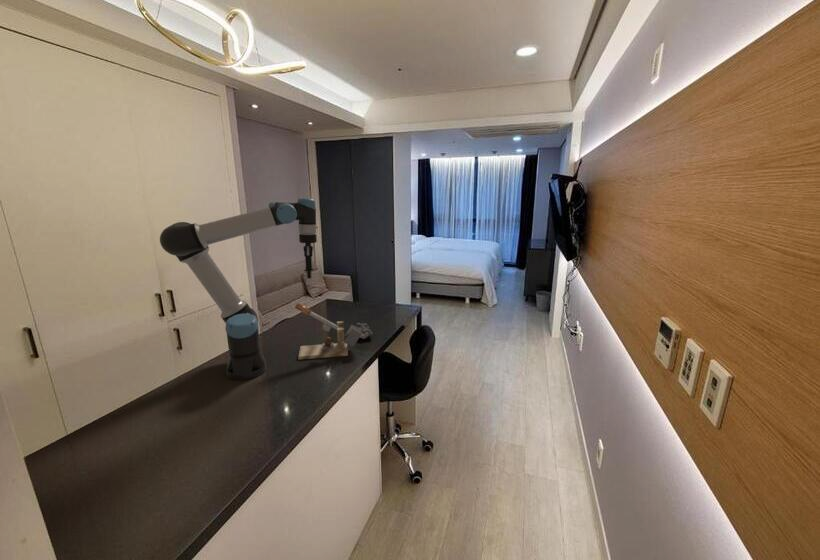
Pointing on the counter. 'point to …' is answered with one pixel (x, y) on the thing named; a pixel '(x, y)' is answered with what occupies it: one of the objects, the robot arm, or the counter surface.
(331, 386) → the counter surface
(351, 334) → the lever
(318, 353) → the tan angle plate
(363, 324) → the rock
